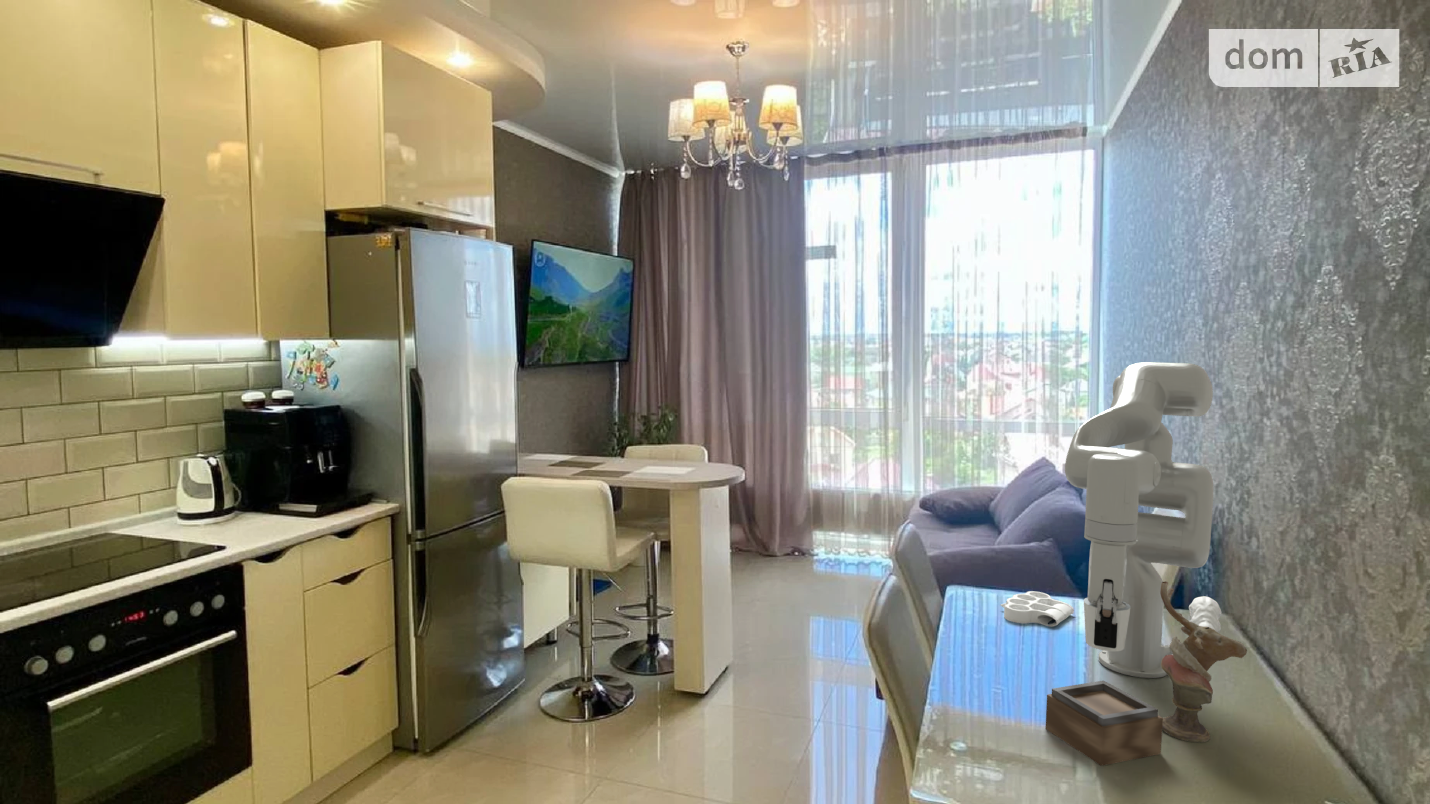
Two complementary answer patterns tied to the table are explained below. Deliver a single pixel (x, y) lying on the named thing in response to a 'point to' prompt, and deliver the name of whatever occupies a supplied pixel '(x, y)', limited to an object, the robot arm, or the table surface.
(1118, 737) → the display riser
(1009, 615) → the white flat perforated piece
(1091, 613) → the white short cylinder
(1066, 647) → the table surface
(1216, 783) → the table surface
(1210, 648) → the decorative bust
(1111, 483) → the robot arm
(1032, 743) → the table surface
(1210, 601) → the white lumpy piece
